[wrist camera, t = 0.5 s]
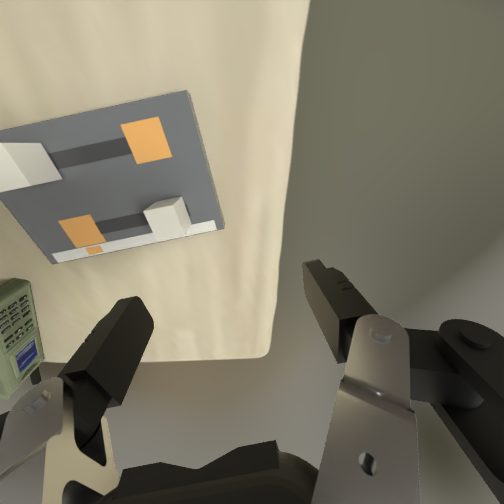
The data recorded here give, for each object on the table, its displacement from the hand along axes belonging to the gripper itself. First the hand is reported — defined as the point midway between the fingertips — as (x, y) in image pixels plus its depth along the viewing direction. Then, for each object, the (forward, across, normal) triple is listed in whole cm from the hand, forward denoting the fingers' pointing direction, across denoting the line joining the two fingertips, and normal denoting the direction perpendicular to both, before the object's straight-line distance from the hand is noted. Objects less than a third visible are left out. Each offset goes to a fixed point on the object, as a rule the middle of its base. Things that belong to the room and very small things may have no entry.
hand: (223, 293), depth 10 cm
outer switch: (+17, +7, 0) cm, 19 cm away
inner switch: (+17, +19, -8) cm, 27 cm away
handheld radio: (+20, +40, +16) cm, 47 cm away
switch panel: (+20, +14, -4) cm, 24 cm away
